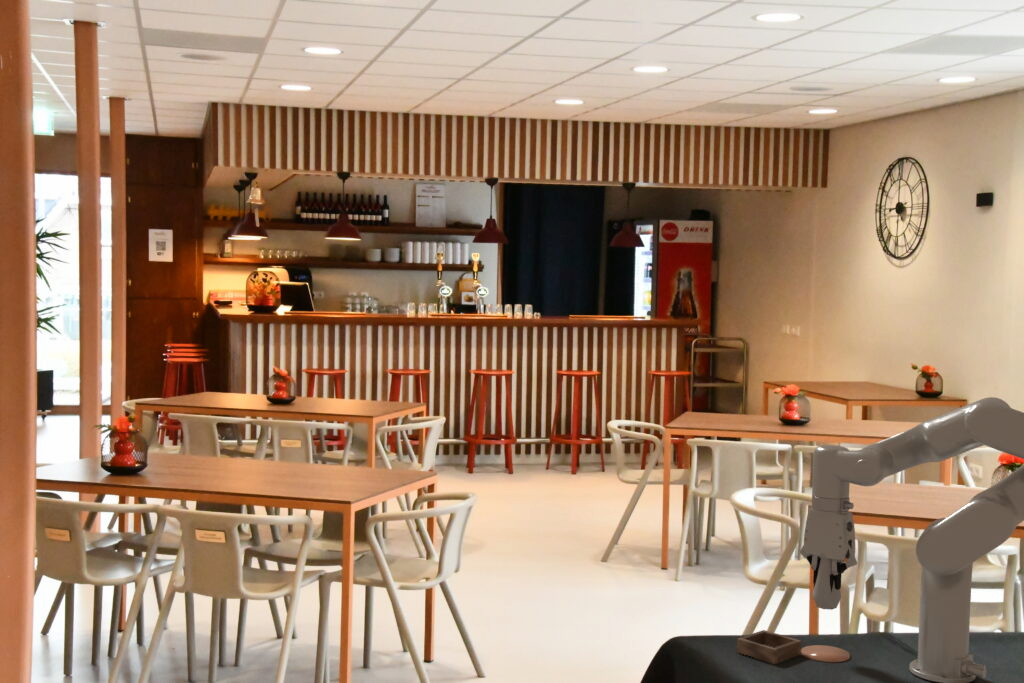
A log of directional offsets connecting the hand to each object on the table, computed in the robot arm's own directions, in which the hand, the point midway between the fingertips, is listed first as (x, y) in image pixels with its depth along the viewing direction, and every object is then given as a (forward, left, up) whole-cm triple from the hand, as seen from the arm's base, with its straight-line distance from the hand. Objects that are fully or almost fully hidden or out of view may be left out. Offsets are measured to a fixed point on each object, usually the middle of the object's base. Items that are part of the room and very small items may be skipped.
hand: (826, 589), depth 241 cm
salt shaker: (0, 0, -4) cm, 4 cm away
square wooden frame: (+8, +9, -14) cm, 18 cm away
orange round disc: (0, 0, -14) cm, 14 cm away
